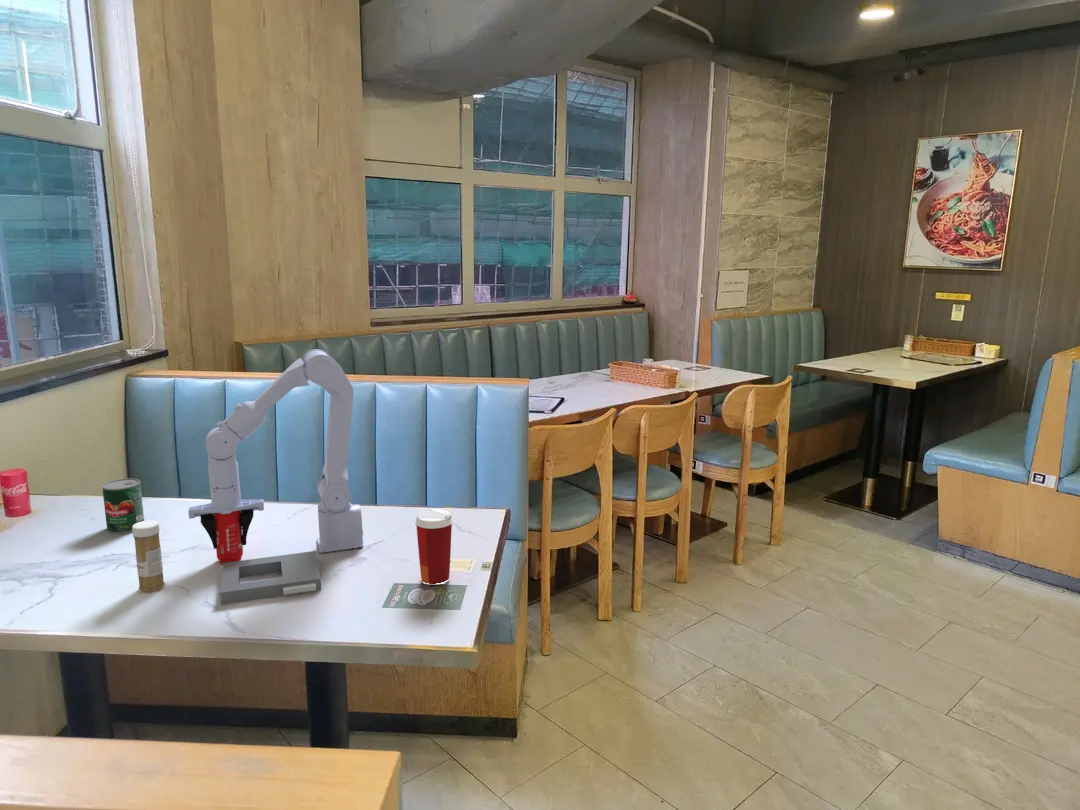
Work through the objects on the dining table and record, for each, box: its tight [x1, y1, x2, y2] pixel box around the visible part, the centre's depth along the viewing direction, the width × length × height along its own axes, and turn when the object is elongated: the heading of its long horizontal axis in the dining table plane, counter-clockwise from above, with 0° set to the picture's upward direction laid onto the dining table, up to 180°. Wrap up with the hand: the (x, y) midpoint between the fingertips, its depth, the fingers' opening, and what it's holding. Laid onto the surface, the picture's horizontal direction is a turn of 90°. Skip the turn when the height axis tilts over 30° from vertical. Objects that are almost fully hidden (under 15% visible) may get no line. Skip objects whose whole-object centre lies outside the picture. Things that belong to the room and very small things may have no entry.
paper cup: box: [413, 508, 454, 584], centre depth 145 cm, size 8×8×14 cm
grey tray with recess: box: [219, 550, 322, 606], centre depth 144 cm, size 18×15×2 cm
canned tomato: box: [101, 478, 145, 535], centre depth 171 cm, size 8×8×11 cm
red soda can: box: [214, 510, 244, 565], centre depth 154 cm, size 5×5×12 cm
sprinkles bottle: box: [131, 519, 166, 593], centre depth 140 cm, size 5×5×14 cm
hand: (230, 545), depth 154 cm, fingers closed on red soda can, 5 cm apart
